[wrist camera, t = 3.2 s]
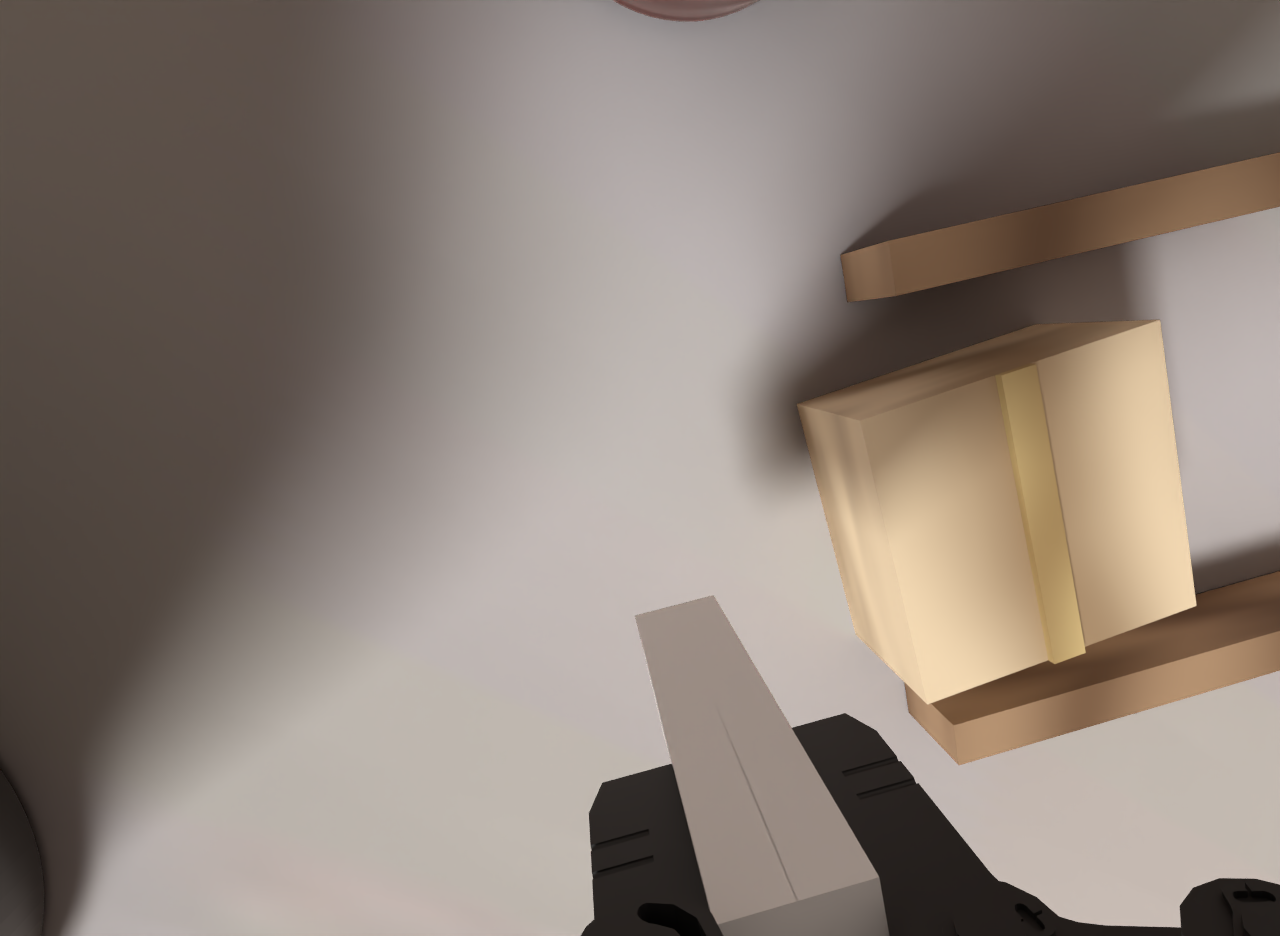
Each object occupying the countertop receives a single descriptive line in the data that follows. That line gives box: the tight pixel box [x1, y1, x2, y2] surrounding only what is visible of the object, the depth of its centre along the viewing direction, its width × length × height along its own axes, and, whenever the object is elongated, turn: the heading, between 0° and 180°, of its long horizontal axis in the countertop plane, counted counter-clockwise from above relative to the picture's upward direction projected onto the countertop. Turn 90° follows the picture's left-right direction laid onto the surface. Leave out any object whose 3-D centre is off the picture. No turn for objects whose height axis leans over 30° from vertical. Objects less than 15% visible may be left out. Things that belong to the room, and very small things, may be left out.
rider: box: [797, 320, 1197, 704], centre depth 17 cm, size 7×7×4 cm
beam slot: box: [840, 152, 1280, 765], centre depth 18 cm, size 21×14×3 cm, turn 103°
